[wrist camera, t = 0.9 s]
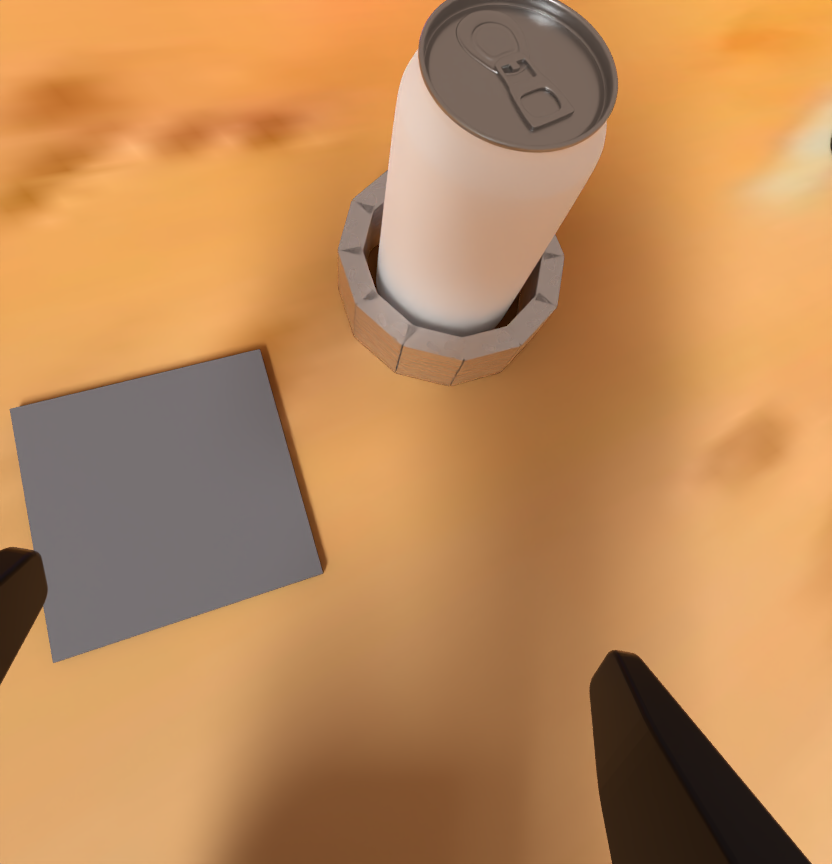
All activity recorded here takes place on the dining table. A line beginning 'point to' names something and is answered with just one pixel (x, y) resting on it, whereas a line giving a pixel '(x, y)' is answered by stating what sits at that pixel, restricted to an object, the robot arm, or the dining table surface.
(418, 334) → the holder
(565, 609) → the dining table surface
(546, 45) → the can
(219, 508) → the mat
